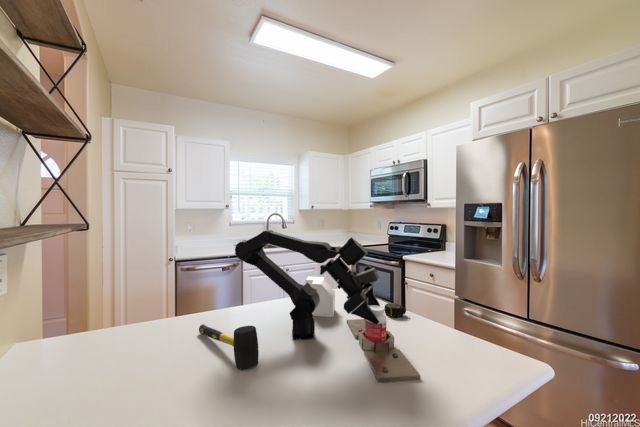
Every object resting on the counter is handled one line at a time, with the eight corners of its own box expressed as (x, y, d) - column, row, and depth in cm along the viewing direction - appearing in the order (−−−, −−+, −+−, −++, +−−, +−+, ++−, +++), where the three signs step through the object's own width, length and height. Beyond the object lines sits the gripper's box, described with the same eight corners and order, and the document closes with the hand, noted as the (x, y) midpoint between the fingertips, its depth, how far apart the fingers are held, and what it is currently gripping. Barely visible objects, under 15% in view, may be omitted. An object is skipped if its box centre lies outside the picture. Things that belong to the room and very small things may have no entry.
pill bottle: (385, 352, 76) (385, 312, 76) (363, 348, 78) (363, 310, 78) (386, 341, 82) (387, 305, 82) (366, 338, 84) (366, 303, 84)
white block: (308, 305, 113) (308, 276, 113) (335, 306, 111) (335, 277, 111) (302, 315, 102) (303, 283, 102) (332, 317, 101) (333, 284, 101)
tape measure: (407, 316, 102) (407, 306, 102) (393, 319, 99) (393, 309, 99) (394, 310, 108) (394, 301, 108) (380, 313, 105) (380, 303, 105)
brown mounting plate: (420, 379, 64) (420, 366, 64) (379, 382, 63) (379, 369, 63) (374, 321, 97) (374, 313, 97) (346, 322, 96) (346, 314, 96)
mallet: (191, 336, 85) (191, 306, 85) (210, 330, 89) (210, 301, 89) (242, 376, 65) (242, 336, 65) (263, 365, 69) (263, 328, 69)
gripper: (356, 264, 72) (398, 311, 69) (367, 253, 90) (401, 290, 86) (327, 290, 75) (367, 337, 71) (343, 275, 92) (376, 312, 89)
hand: (379, 317), depth 79 cm, fingers open, 9 cm apart
